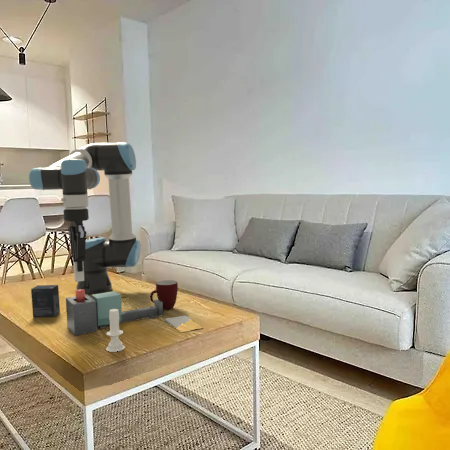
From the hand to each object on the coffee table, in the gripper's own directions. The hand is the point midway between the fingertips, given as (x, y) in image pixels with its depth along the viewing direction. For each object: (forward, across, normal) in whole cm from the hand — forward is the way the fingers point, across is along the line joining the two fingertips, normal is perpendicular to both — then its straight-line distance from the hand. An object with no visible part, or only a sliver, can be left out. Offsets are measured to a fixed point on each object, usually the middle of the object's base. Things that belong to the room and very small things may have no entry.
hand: (79, 280), depth 142 cm
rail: (+16, 0, +15) cm, 22 cm away
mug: (+16, -5, +32) cm, 36 cm away
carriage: (+16, 0, +9) cm, 18 cm away
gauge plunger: (+7, 0, 0) cm, 7 cm away
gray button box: (+16, 0, 0) cm, 16 cm away
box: (+16, -24, -6) cm, 30 cm away
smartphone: (+17, +15, +30) cm, 37 cm away
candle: (+16, +23, +4) cm, 28 cm away
